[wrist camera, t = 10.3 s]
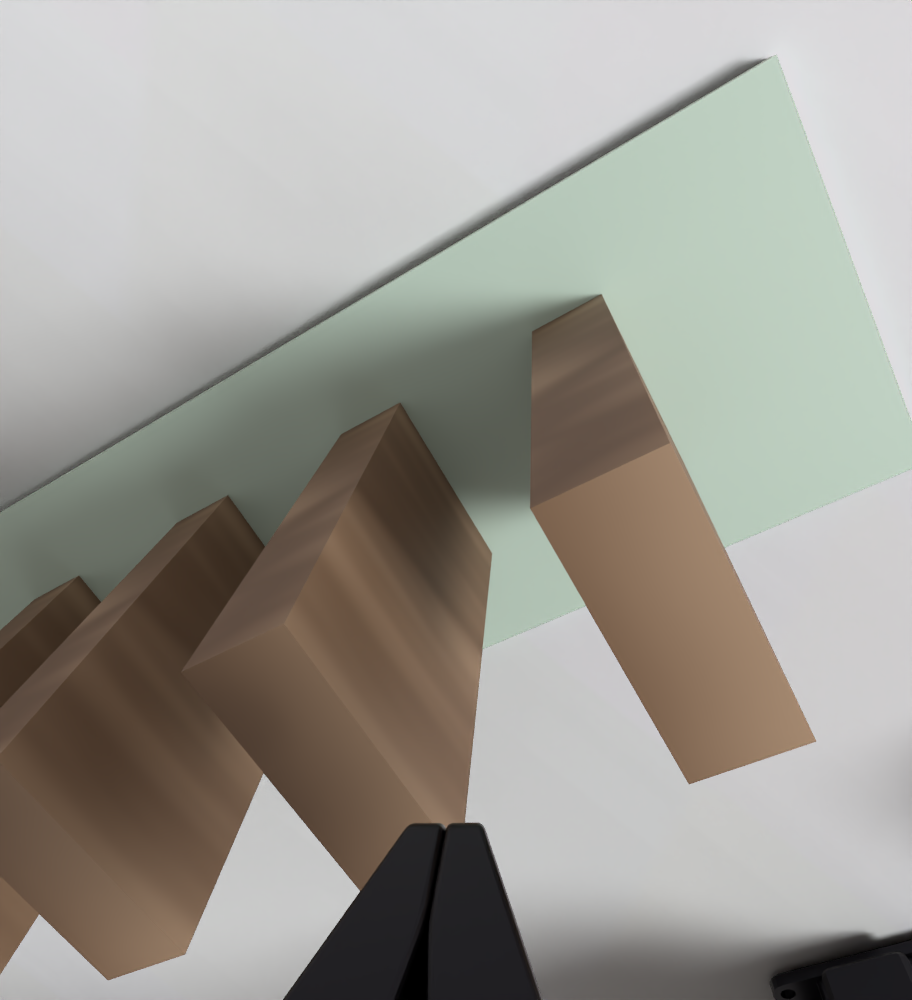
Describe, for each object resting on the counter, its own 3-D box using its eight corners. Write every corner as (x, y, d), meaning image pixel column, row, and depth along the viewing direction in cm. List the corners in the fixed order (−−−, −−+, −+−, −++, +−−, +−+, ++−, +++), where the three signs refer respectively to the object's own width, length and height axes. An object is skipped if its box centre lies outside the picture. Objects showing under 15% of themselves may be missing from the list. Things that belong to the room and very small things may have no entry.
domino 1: (78, 575, 23) (-228, 863, 13) (179, 696, 24) (-36, 1028, 15) (34, 599, 23) (-290, 892, 14) (136, 716, 25) (-97, 1049, 16)
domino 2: (227, 495, 21) (-5, 758, 12) (325, 629, 23) (185, 954, 13) (177, 522, 22) (-84, 796, 12) (275, 652, 23) (107, 980, 14)
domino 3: (400, 402, 20) (284, 623, 10) (492, 553, 21) (460, 861, 12) (340, 434, 20) (180, 671, 11) (434, 579, 22) (362, 894, 12)
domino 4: (601, 294, 18) (670, 443, 9) (685, 465, 20) (816, 741, 10) (531, 331, 18) (529, 508, 9) (618, 495, 20) (689, 784, 11)
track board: (916, 453, 19) (926, 462, 19) (-29, 854, 29) (-39, 868, 28) (768, 57, 16) (776, 54, 16) (-238, 652, 26) (-255, 663, 25)
